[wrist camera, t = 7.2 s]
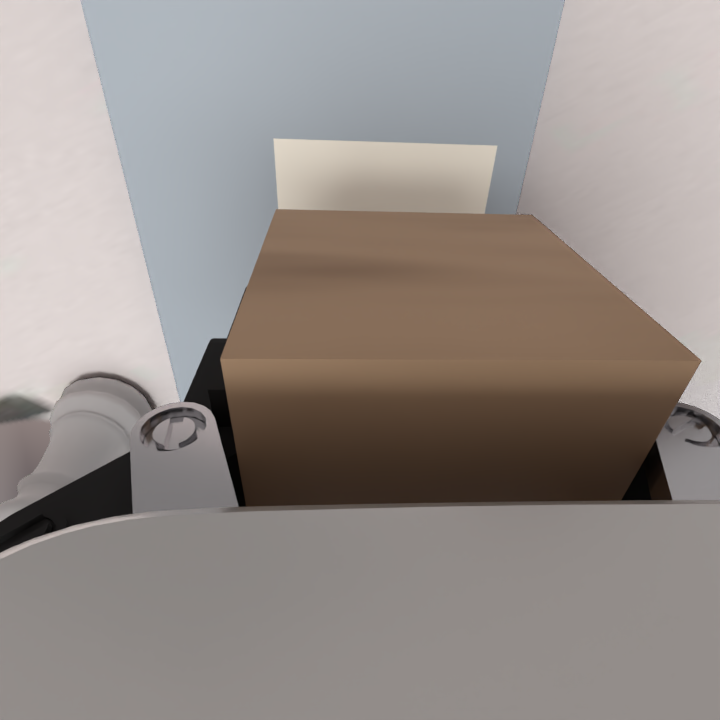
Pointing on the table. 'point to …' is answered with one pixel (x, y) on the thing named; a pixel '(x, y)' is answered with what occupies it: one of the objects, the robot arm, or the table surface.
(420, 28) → the build board
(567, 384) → the walnut cube
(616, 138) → the table surface
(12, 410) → the table surface
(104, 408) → the rook chess piece
